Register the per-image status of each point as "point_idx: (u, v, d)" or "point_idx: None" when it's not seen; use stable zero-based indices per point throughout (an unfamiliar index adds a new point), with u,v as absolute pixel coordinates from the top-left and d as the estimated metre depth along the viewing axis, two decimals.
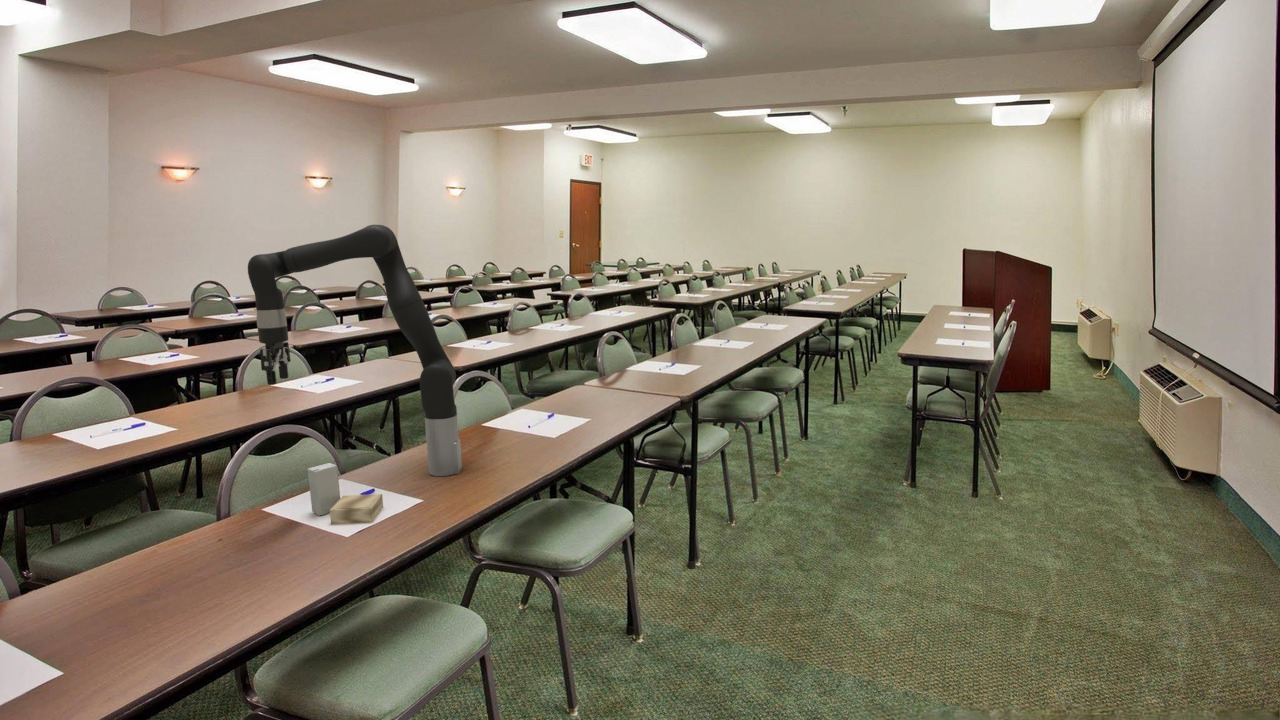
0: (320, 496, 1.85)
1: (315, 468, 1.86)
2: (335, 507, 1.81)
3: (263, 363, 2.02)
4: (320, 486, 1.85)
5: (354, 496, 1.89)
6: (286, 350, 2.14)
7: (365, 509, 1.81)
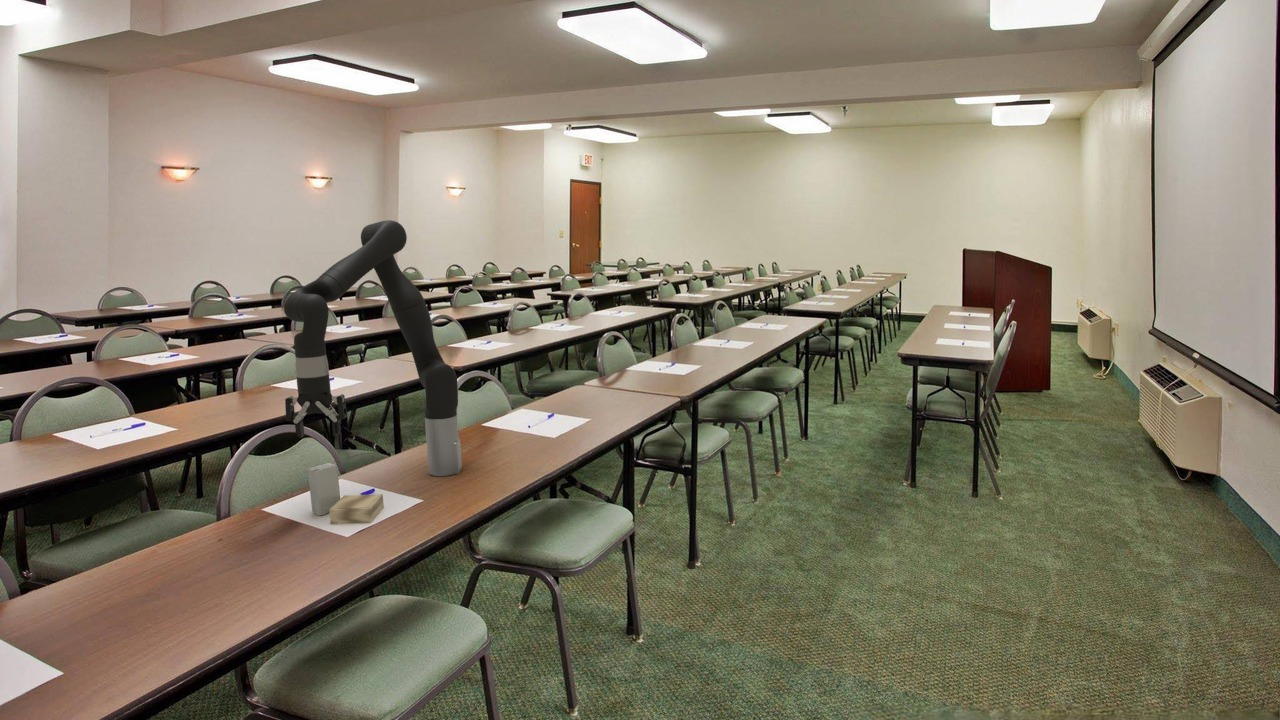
0: (320, 496, 1.85)
1: (315, 468, 1.86)
2: (335, 507, 1.81)
3: None
4: (320, 486, 1.85)
5: (355, 496, 1.89)
6: (293, 405, 1.85)
7: (364, 509, 1.80)
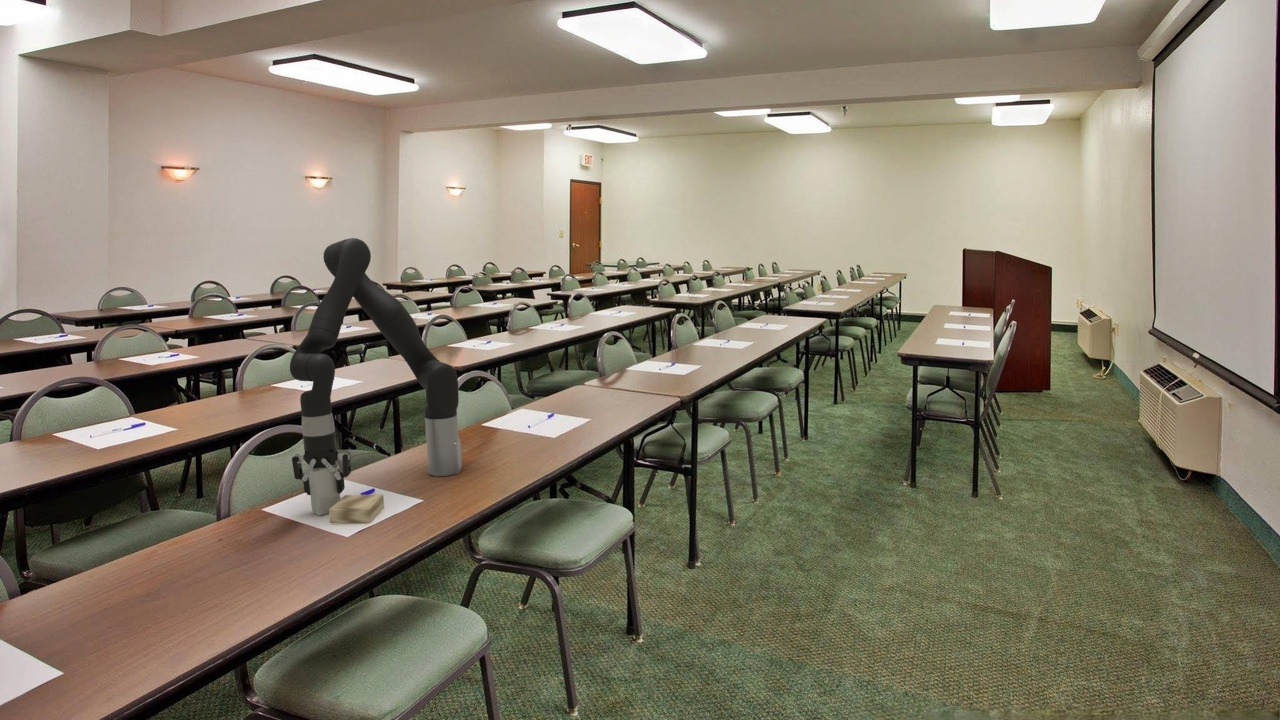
0: (320, 496, 1.85)
1: (315, 468, 1.86)
2: (334, 507, 1.82)
3: None
4: (320, 486, 1.85)
5: (355, 496, 1.89)
6: (300, 463, 1.87)
7: (363, 509, 1.80)
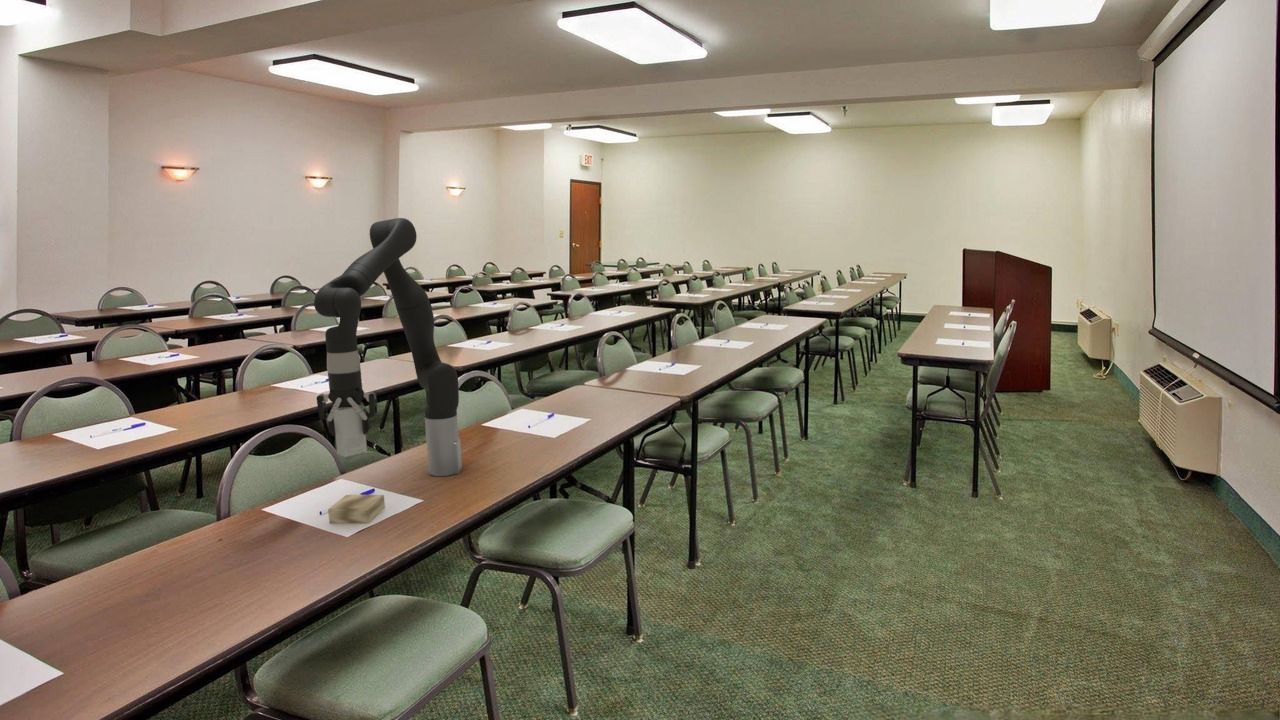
0: (345, 436, 1.79)
1: None
2: (334, 506, 1.82)
3: None
4: (346, 426, 1.79)
5: (356, 496, 1.89)
6: (325, 402, 1.81)
7: (362, 510, 1.80)
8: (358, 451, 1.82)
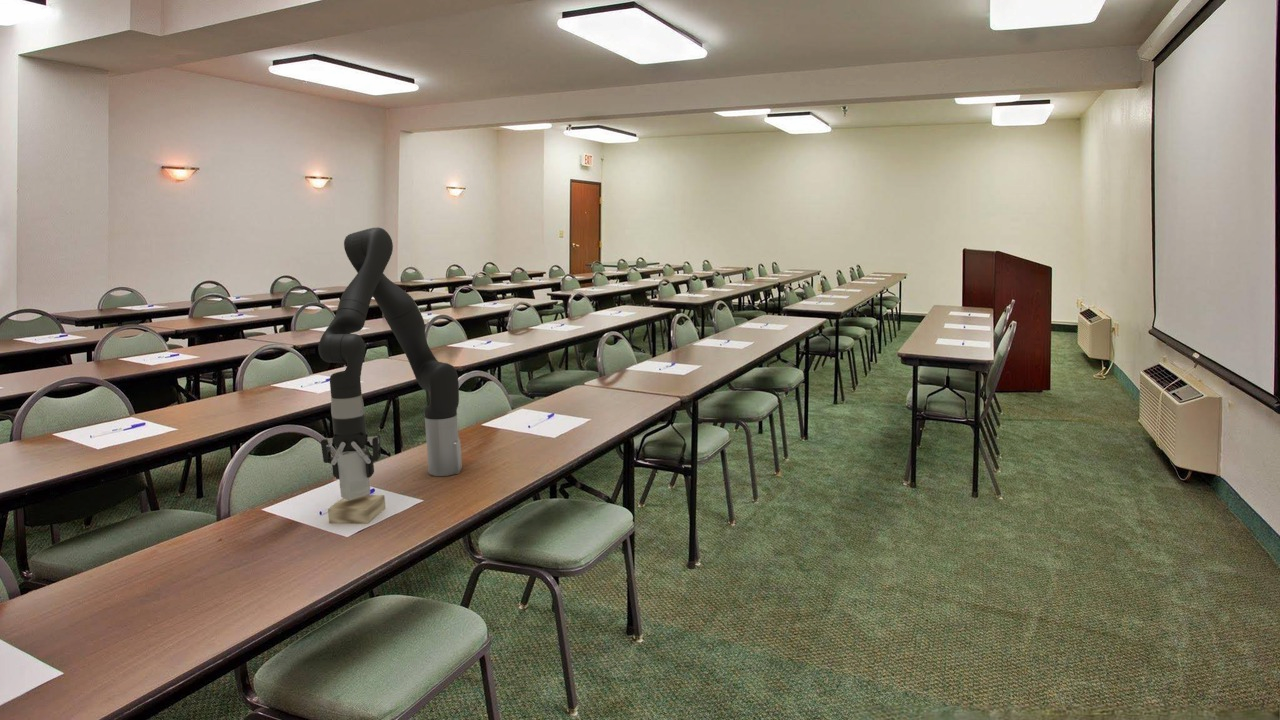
0: (349, 480, 1.81)
1: None
2: (334, 506, 1.82)
3: None
4: (349, 470, 1.81)
5: None
6: (329, 446, 1.83)
7: (361, 510, 1.80)
8: (362, 494, 1.84)
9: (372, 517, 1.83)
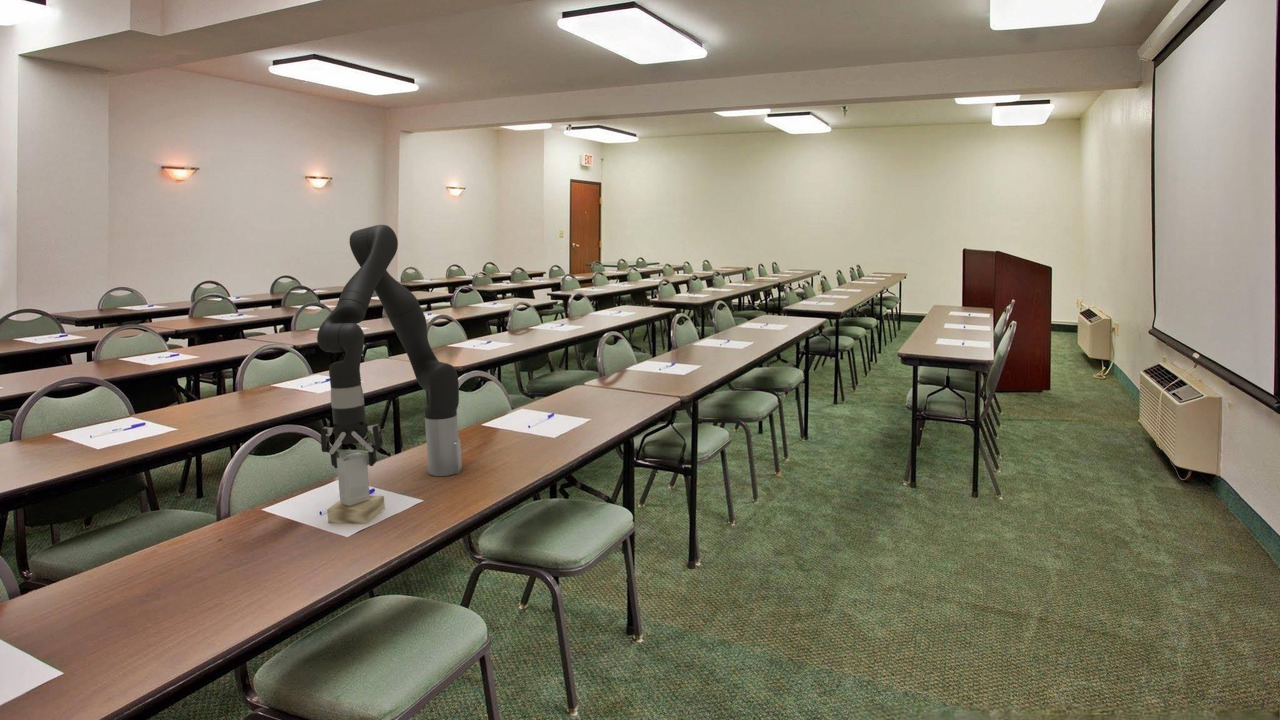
0: (349, 486, 1.81)
1: (345, 457, 1.82)
2: (333, 507, 1.82)
3: None
4: (350, 476, 1.81)
5: None
6: None
7: (360, 511, 1.80)
8: (361, 500, 1.84)
9: (371, 518, 1.83)
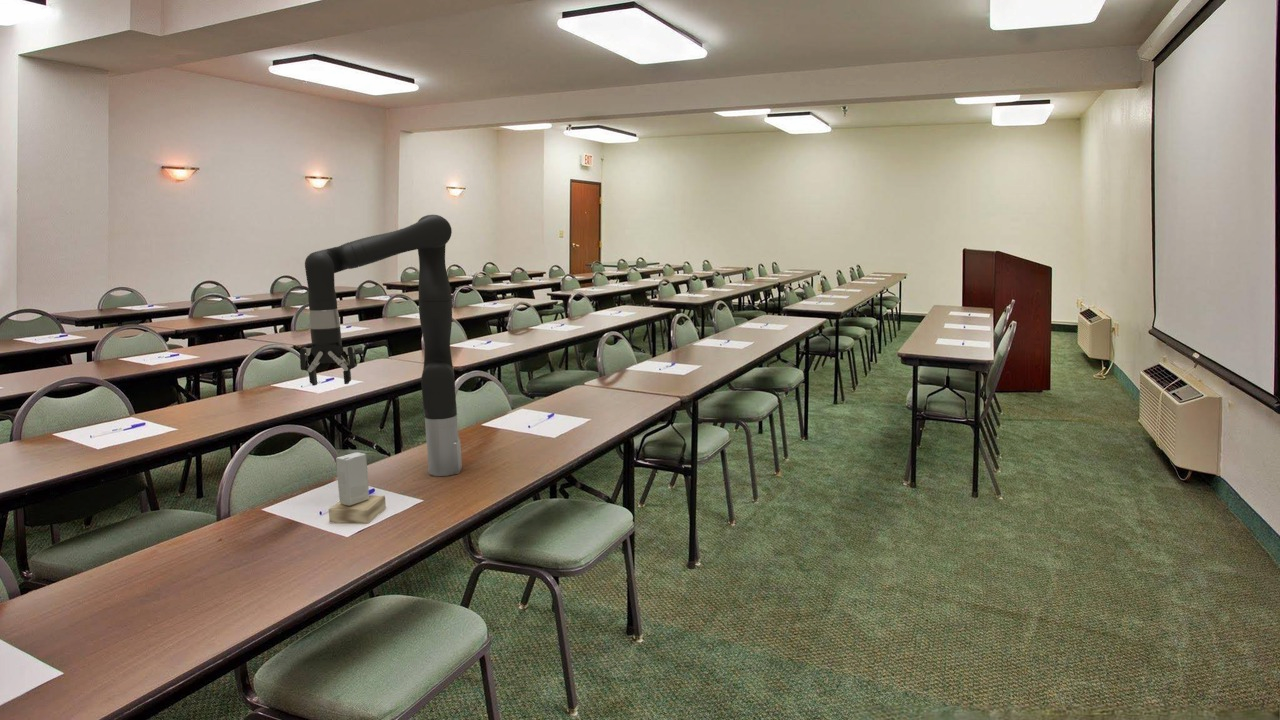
0: (350, 485, 1.81)
1: (344, 457, 1.82)
2: (334, 506, 1.82)
3: None
4: (350, 475, 1.81)
5: None
6: (307, 356, 2.00)
7: (361, 511, 1.80)
8: (361, 499, 1.84)
9: (373, 518, 1.83)
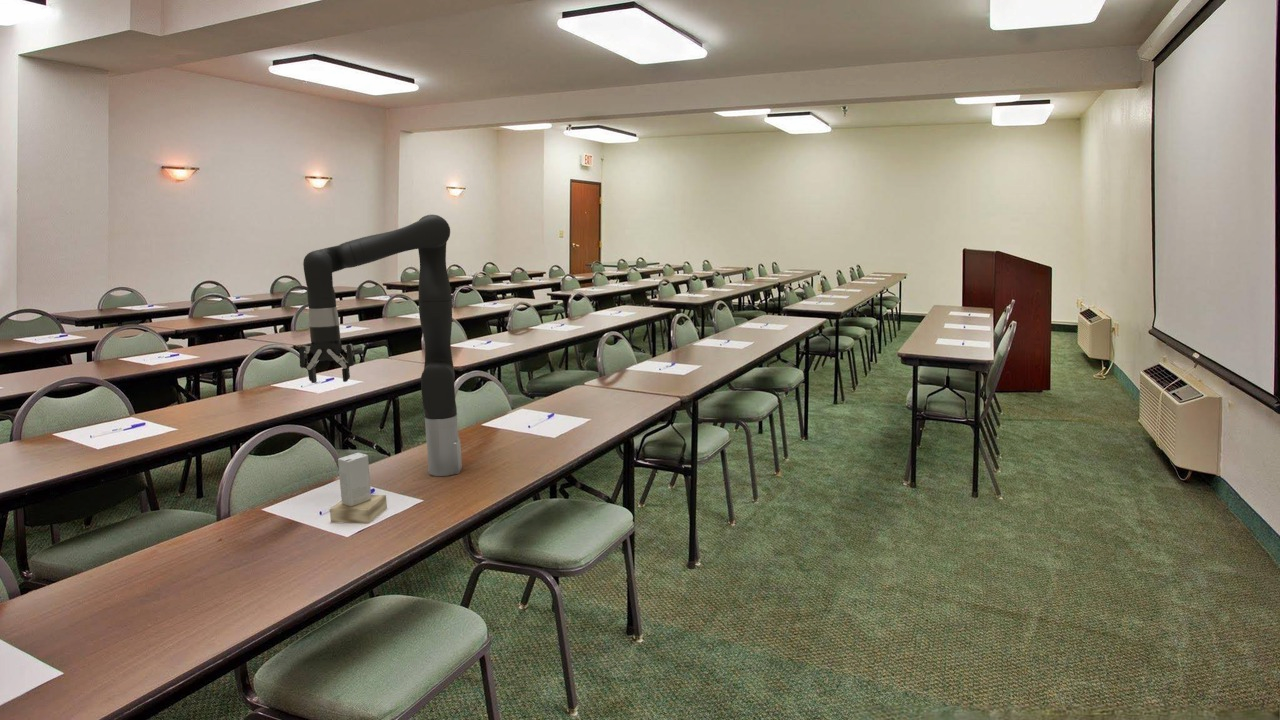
0: (352, 486, 1.81)
1: (346, 458, 1.81)
2: (335, 506, 1.82)
3: None
4: (352, 476, 1.81)
5: None
6: (306, 353, 2.02)
7: (362, 510, 1.80)
8: (363, 500, 1.84)
9: (374, 517, 1.83)
